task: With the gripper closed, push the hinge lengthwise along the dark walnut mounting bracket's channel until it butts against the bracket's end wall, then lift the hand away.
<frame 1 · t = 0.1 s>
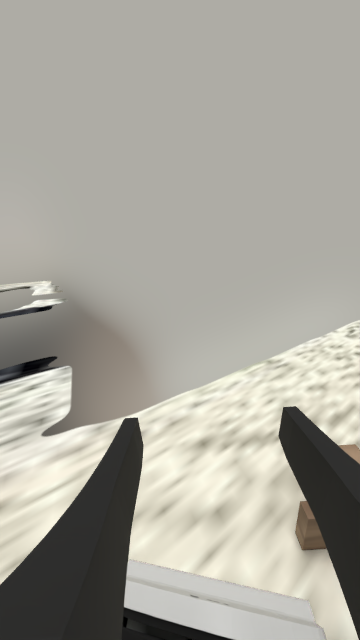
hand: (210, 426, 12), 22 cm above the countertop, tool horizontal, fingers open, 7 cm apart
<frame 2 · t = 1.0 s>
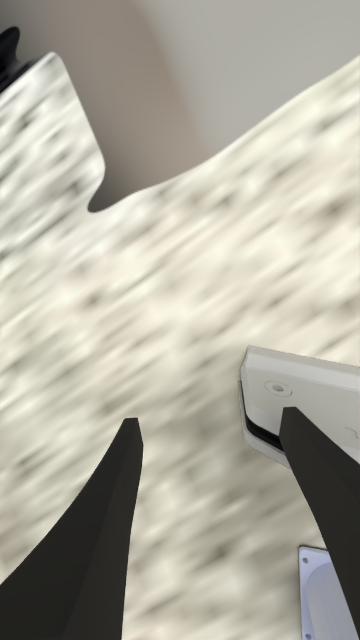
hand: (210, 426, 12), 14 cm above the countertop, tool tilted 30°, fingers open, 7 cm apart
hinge: (323, 399, 23), on the countertop
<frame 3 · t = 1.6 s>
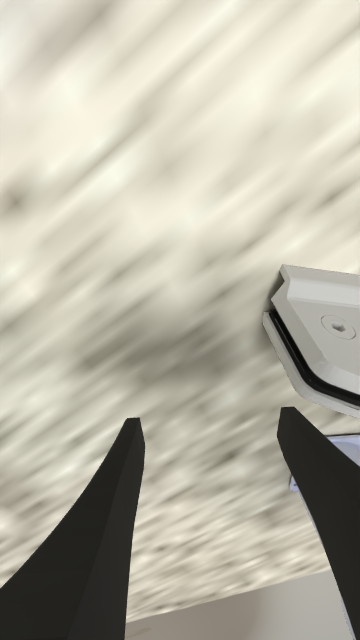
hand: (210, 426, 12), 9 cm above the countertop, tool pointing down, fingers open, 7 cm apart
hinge: (354, 319, 20), on the countertop
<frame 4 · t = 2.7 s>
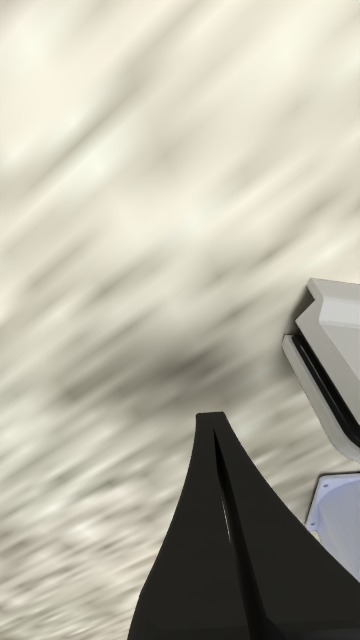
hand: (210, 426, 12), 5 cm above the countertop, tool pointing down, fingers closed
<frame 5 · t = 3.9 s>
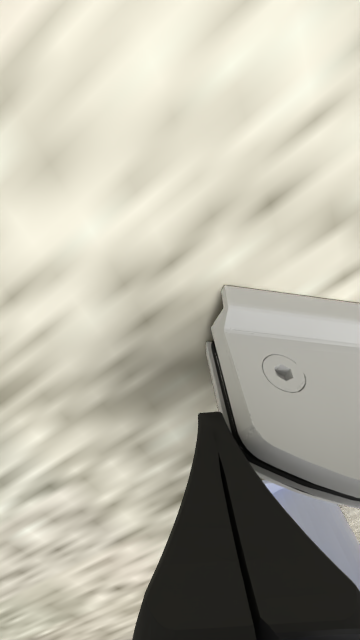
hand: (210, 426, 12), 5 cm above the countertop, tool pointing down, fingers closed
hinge: (319, 350, 17), on the countertop, touching gripper
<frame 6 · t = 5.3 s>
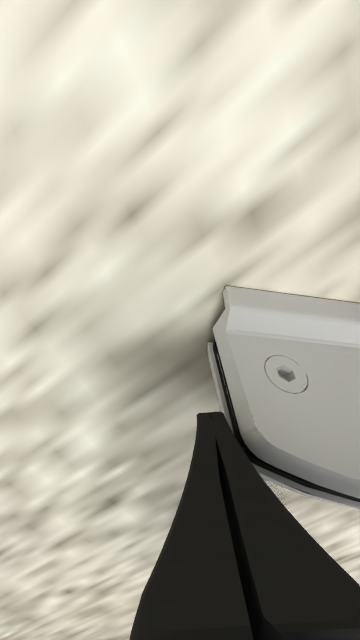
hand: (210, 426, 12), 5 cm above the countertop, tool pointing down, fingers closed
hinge: (321, 350, 17), on the countertop, touching gripper
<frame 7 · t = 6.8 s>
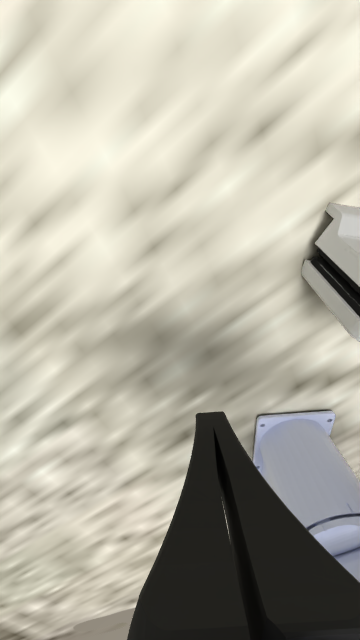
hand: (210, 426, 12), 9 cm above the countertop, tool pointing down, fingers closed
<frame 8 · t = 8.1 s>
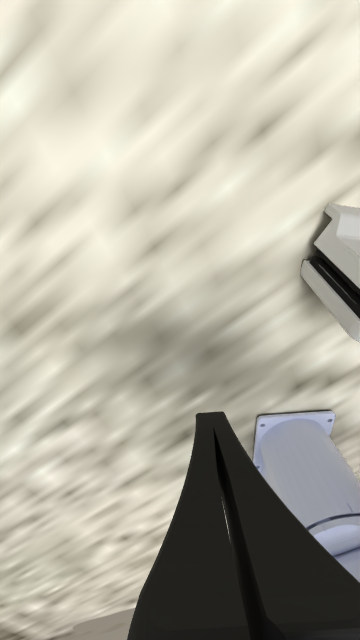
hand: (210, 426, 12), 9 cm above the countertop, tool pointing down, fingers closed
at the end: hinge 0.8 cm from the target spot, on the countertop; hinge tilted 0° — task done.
